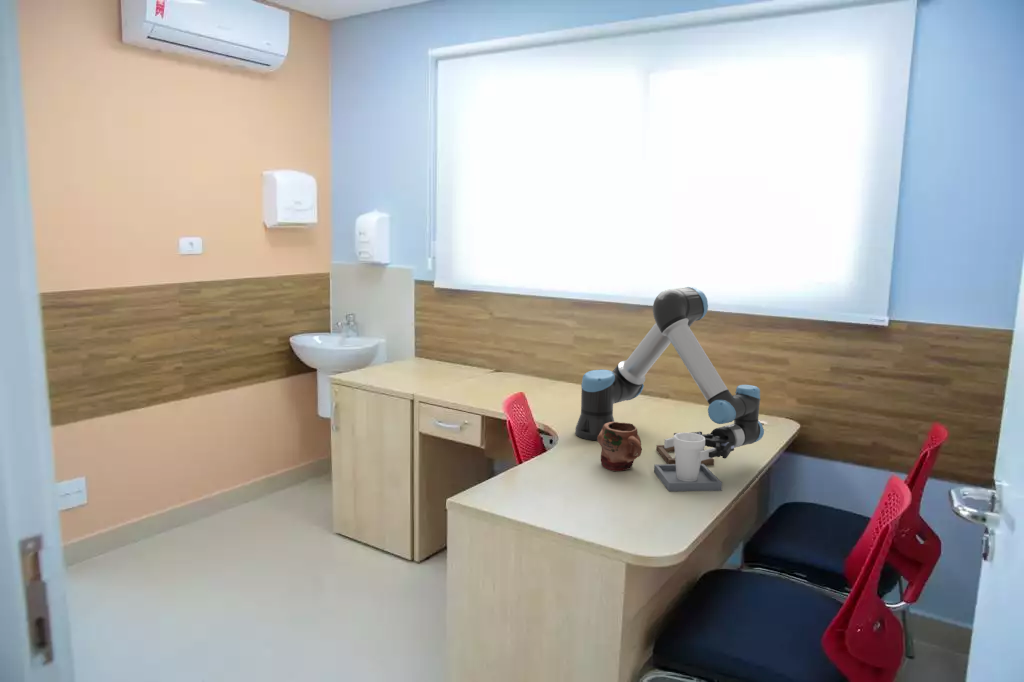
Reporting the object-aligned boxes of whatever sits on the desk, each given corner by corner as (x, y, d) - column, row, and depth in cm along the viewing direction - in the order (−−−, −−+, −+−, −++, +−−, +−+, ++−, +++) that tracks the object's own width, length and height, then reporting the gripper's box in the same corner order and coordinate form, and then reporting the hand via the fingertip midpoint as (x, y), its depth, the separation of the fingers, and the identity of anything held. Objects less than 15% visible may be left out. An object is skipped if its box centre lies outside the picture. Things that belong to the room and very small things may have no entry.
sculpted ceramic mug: (656, 474, 228) (658, 431, 225) (627, 481, 221) (629, 437, 219) (613, 455, 244) (615, 415, 242) (585, 462, 237) (587, 421, 235)
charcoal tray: (668, 491, 214) (669, 483, 213) (654, 471, 230) (654, 464, 229) (721, 490, 215) (721, 482, 215) (703, 471, 231) (703, 463, 230)
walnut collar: (668, 465, 236) (669, 459, 235) (656, 450, 250) (656, 445, 250) (713, 465, 237) (714, 459, 236) (698, 450, 251) (698, 444, 251)
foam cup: (703, 484, 217) (706, 443, 215) (671, 481, 219) (674, 440, 216) (701, 473, 226) (704, 433, 224) (671, 471, 228) (673, 431, 225)
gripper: (759, 460, 222) (715, 474, 210) (694, 438, 242) (651, 450, 229) (761, 436, 221) (716, 449, 208) (696, 417, 240) (652, 427, 228)
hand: (682, 449), depth 219 cm, fingers open, 13 cm apart
